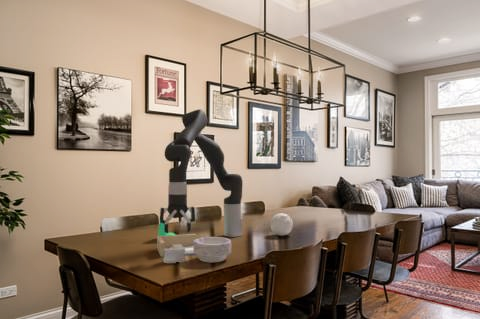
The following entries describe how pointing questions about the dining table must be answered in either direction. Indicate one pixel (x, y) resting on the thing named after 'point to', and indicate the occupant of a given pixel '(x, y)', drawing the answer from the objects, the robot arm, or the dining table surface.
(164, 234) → the camera mount
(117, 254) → the dining table surface
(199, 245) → the white marbled bowl
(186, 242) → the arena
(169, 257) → the aluminium bracket
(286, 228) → the decorative ball
